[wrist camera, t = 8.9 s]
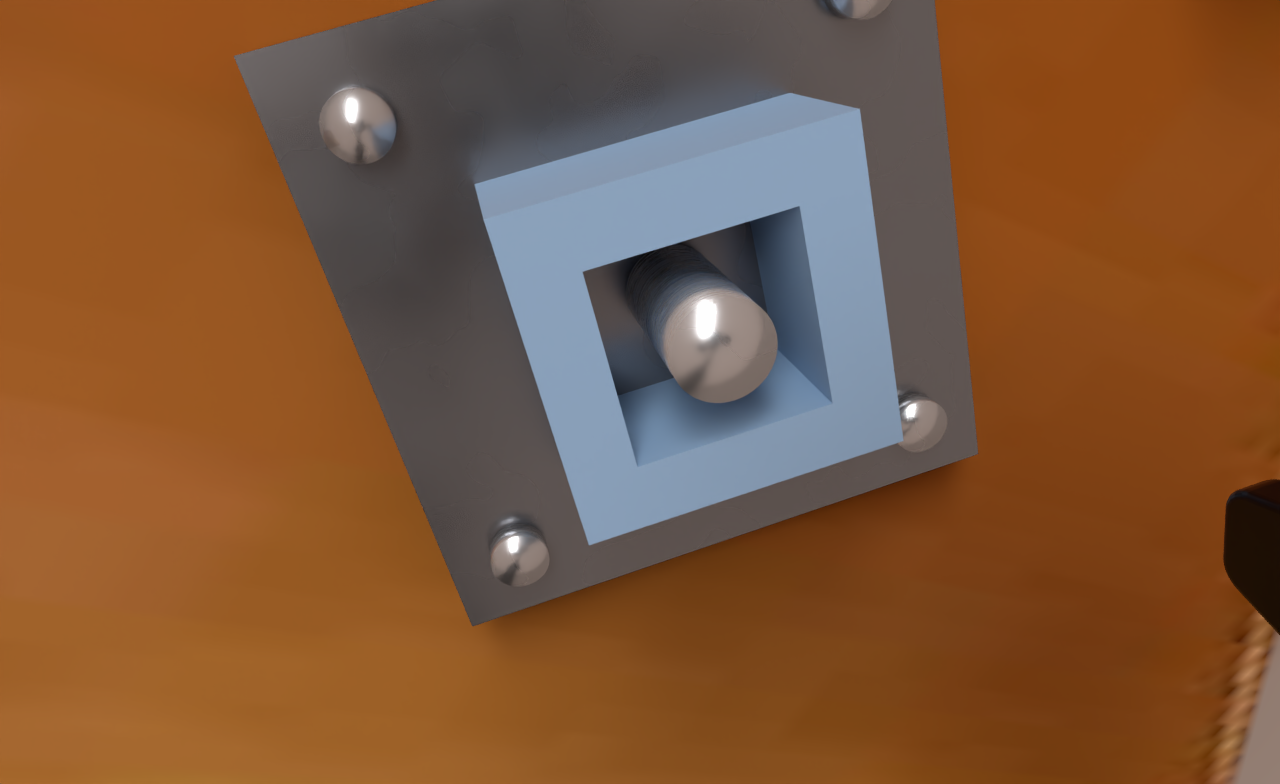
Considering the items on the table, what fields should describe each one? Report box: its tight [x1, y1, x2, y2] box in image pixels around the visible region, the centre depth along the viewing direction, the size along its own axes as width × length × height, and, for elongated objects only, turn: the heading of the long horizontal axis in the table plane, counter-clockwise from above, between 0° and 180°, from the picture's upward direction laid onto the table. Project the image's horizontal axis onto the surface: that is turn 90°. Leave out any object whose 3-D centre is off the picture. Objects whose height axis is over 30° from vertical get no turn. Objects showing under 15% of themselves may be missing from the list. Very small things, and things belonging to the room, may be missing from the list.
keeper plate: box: [234, 0, 978, 626], centre depth 17 cm, size 12×12×5 cm
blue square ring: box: [475, 93, 903, 545], centre depth 16 cm, size 6×6×3 cm
